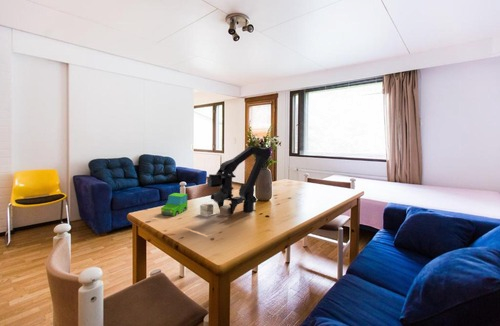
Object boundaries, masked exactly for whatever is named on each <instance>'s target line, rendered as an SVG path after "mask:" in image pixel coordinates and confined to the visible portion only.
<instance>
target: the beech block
mask: <svg viewBox="0 0 500 326" xmlns="http://www.w3.org/2000/svg"><path fill="white" fill-rule="evenodd" d="M199 209H200V210H199V211H200V212H199V213H200V214H202V215H206V216H208V215H210V216H212V215H211V214H213V213H214V204H212V203H207V202H206V203H202V204H200V205H199ZM202 215H201V216H202ZM213 215H214V214H213ZM206 216H205V217H206ZM208 217H209V216H208Z"/></svg>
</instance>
